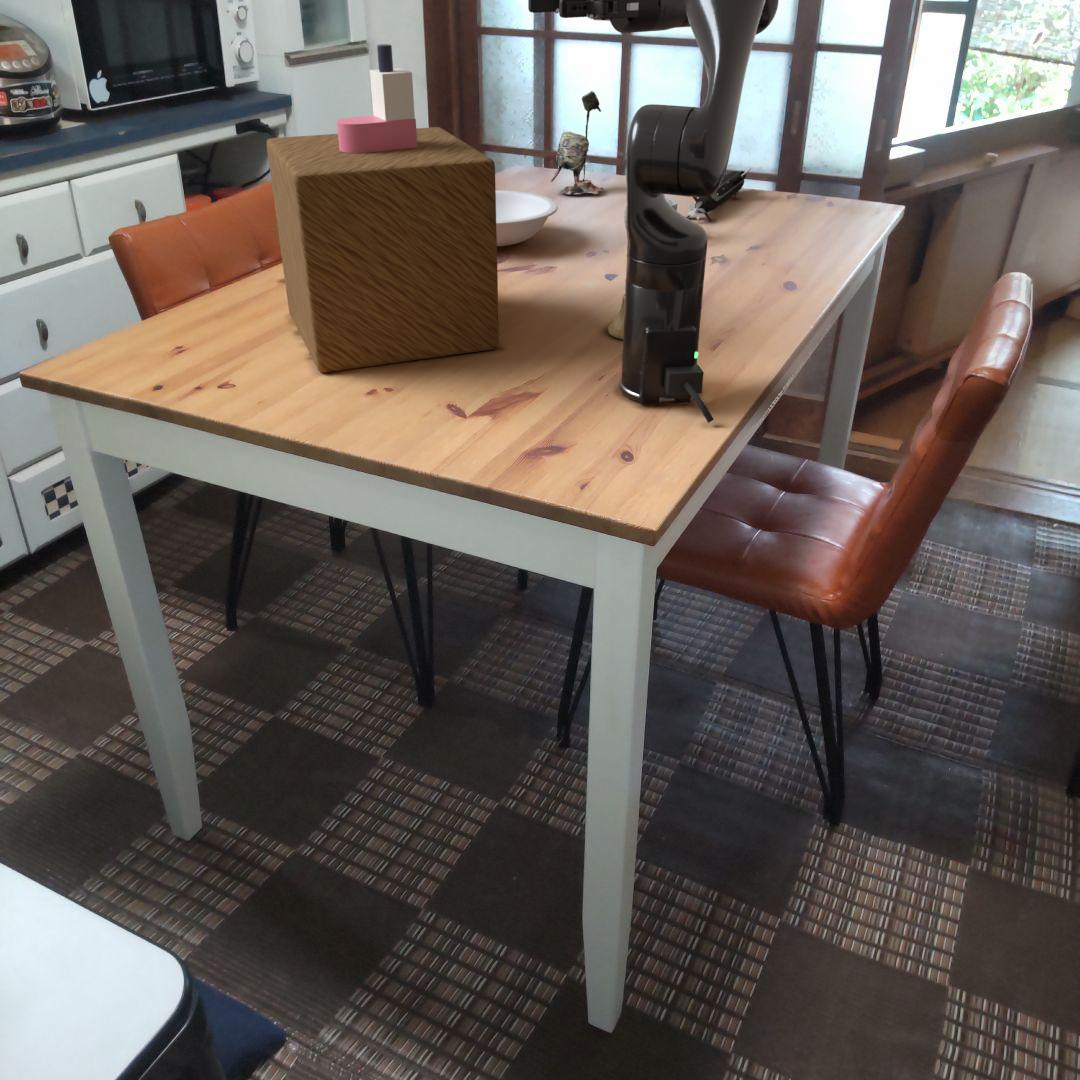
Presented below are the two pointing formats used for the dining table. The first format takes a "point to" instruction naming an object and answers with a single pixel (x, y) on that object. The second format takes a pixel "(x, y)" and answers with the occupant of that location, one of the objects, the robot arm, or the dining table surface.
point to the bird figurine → (577, 152)
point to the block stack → (383, 112)
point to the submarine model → (719, 194)
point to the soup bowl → (520, 215)
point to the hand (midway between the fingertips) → (544, 5)
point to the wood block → (387, 248)
